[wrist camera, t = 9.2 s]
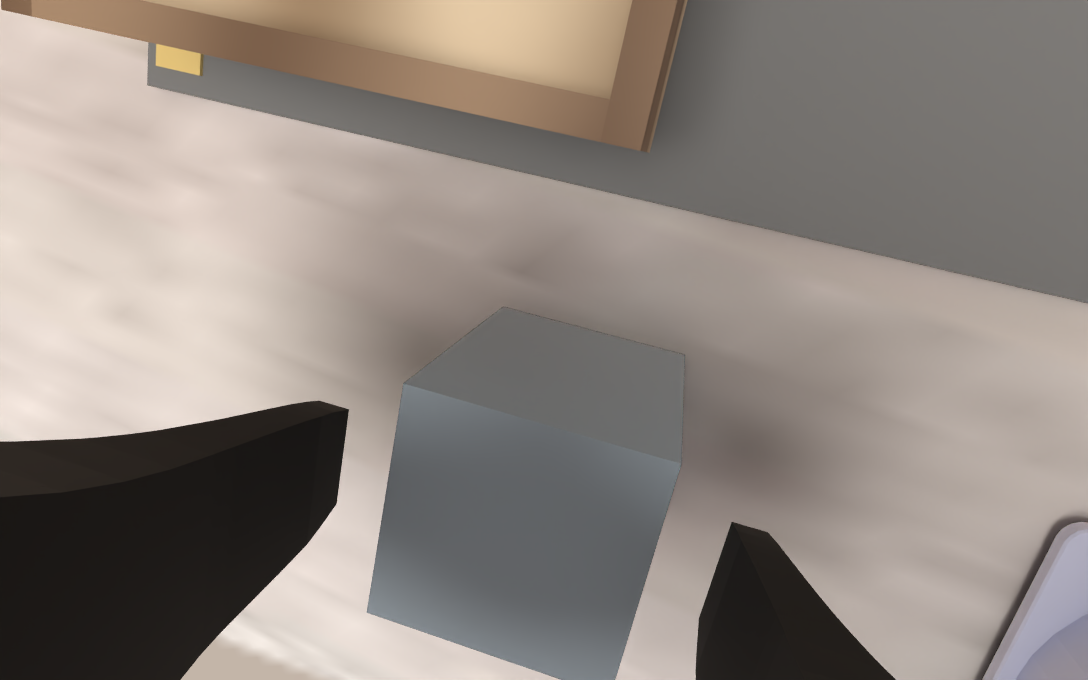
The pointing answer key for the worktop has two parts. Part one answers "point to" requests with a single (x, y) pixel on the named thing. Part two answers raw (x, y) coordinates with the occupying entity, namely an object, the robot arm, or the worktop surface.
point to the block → (530, 493)
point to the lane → (803, 128)
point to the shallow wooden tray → (433, 51)
